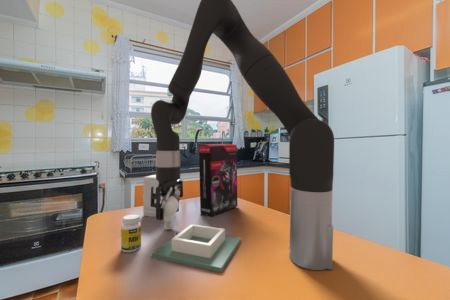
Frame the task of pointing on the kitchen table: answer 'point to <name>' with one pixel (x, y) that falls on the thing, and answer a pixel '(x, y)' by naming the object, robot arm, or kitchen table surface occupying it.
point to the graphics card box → (217, 178)
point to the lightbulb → (170, 211)
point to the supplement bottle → (131, 233)
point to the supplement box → (149, 195)
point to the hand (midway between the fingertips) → (168, 215)
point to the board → (199, 247)
